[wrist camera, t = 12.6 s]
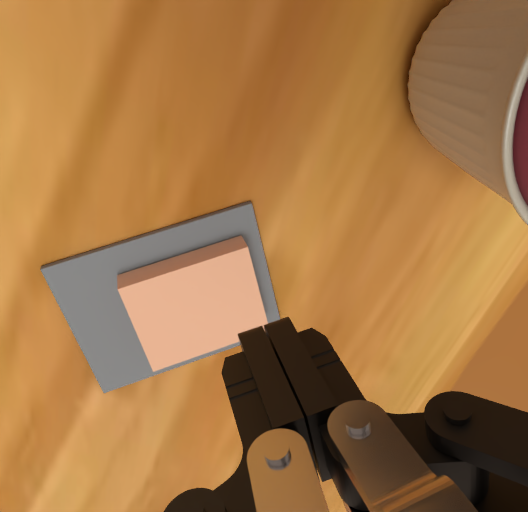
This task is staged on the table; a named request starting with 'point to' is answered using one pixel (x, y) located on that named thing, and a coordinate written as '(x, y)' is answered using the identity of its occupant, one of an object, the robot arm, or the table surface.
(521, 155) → the canister
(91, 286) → the mat
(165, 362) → the tile
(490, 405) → the robot arm
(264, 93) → the table surface
